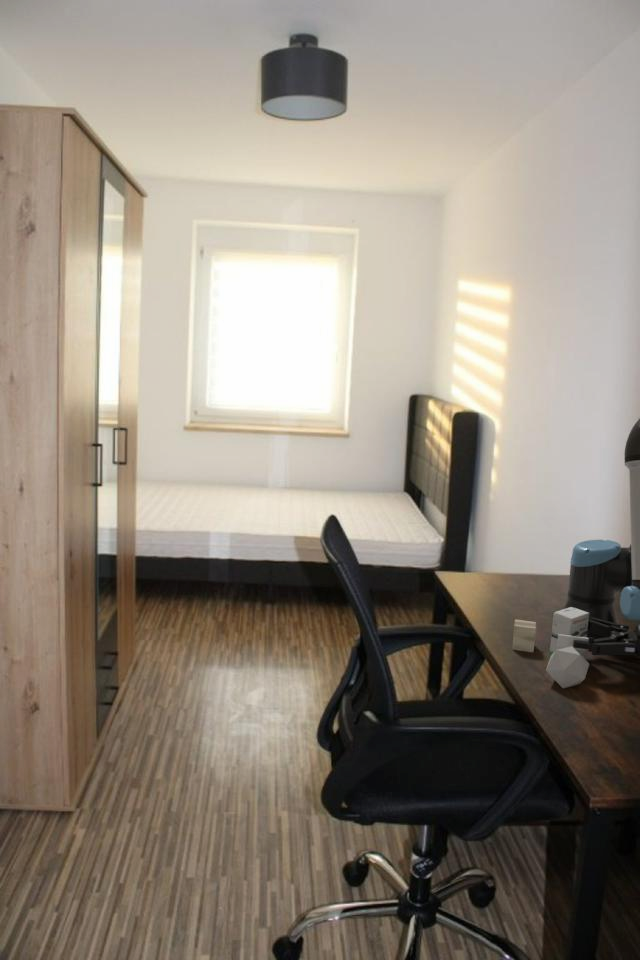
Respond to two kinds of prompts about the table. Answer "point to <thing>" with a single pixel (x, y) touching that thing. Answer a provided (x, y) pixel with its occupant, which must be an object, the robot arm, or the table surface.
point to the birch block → (524, 635)
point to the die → (567, 667)
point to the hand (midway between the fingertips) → (556, 630)
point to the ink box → (569, 626)
